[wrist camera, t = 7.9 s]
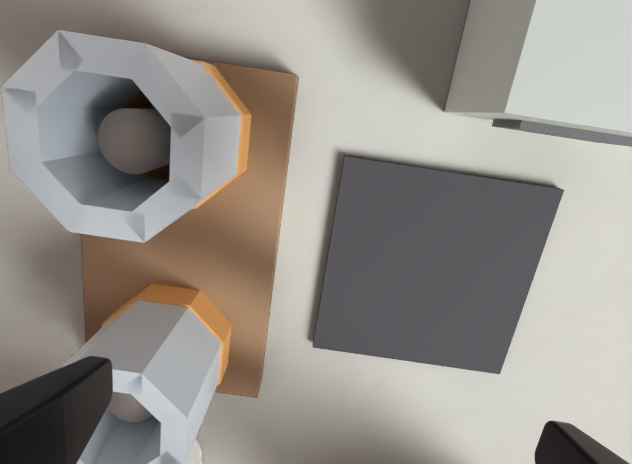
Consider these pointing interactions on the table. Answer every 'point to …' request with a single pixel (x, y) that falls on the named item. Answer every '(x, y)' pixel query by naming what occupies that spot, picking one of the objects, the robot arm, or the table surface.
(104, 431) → the sleeve
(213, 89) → the sleeve
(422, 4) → the table surface
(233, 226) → the pin board
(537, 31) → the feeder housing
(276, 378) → the table surface
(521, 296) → the pad
